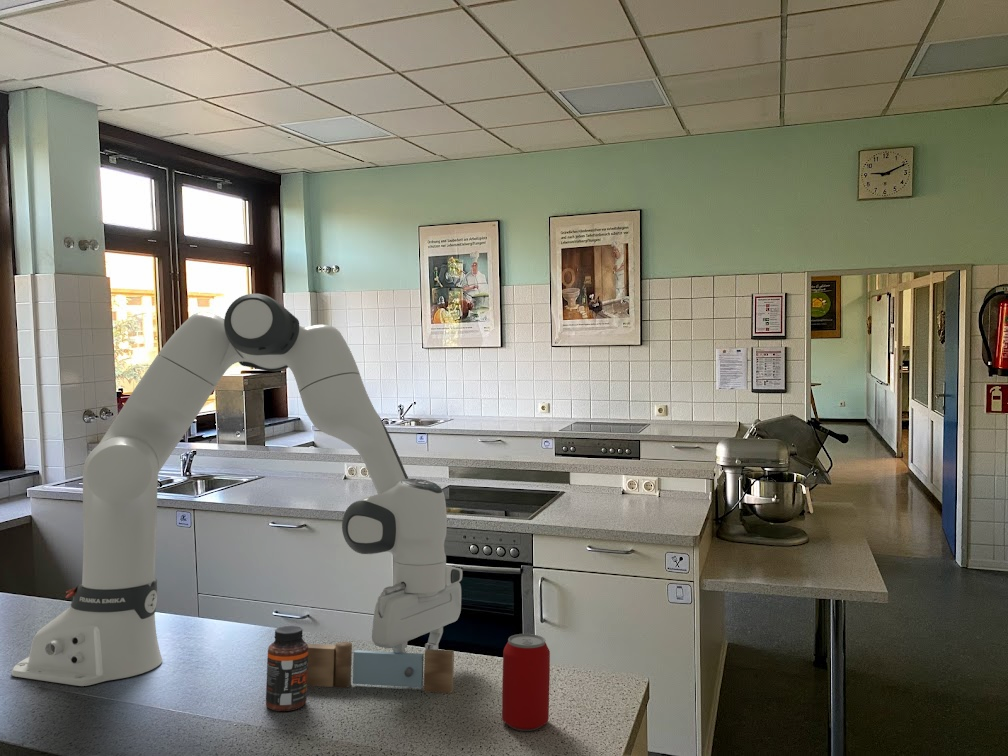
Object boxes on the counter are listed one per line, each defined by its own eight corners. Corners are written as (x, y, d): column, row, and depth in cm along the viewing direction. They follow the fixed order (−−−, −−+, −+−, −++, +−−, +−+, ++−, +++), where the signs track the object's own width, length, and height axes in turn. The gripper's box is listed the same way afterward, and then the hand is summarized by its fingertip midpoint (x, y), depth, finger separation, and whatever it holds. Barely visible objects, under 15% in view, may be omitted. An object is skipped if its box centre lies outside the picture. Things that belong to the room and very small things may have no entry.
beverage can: (546, 714, 114) (548, 632, 115) (550, 734, 107) (552, 647, 108) (500, 713, 114) (502, 632, 114) (502, 733, 107) (504, 646, 108)
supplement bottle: (295, 715, 112) (297, 636, 112) (257, 710, 113) (260, 633, 114) (313, 699, 118) (315, 625, 118) (277, 695, 119) (279, 622, 119)
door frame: (285, 685, 123) (287, 644, 124) (291, 679, 126) (292, 639, 126) (451, 693, 121) (451, 652, 122) (453, 687, 124) (454, 646, 124)
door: (350, 685, 122) (351, 654, 123) (354, 681, 124) (355, 650, 125) (420, 690, 121) (421, 657, 121) (422, 685, 123) (423, 653, 123)
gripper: (394, 592, 119) (392, 683, 118) (468, 568, 136) (466, 647, 136) (363, 586, 122) (361, 675, 121) (439, 564, 139) (437, 641, 139)
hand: (417, 660), depth 129 cm, fingers open, 6 cm apart
